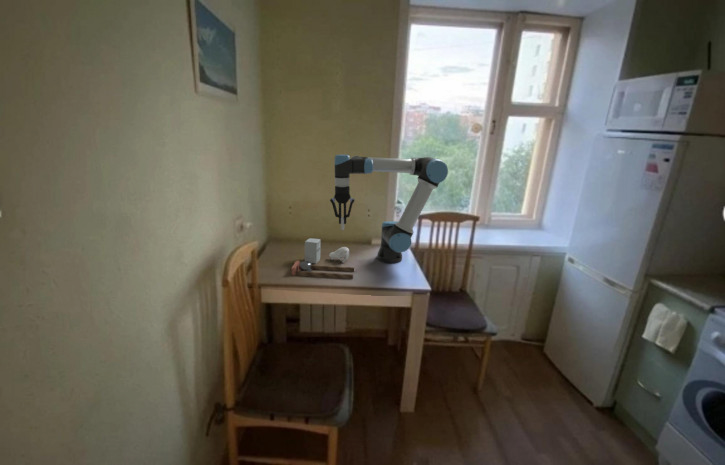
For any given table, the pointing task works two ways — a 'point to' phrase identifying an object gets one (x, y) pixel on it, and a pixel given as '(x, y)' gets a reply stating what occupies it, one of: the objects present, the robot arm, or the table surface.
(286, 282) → the table surface
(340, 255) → the white figurine
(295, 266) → the stop block
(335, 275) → the guide rails
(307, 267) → the cylinder
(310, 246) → the supplement box
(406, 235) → the robot arm
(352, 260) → the table surface
